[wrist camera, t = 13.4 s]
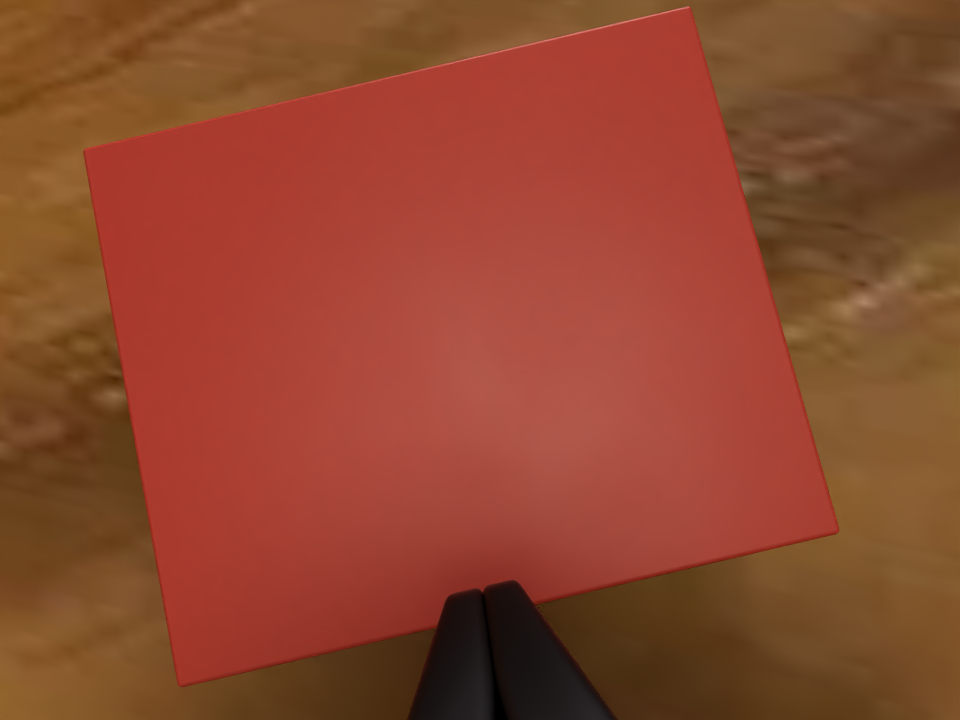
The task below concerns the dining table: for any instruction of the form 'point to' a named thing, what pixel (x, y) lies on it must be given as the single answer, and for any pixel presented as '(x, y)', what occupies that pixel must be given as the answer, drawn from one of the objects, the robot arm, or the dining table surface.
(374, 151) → the lid
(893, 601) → the dining table surface
